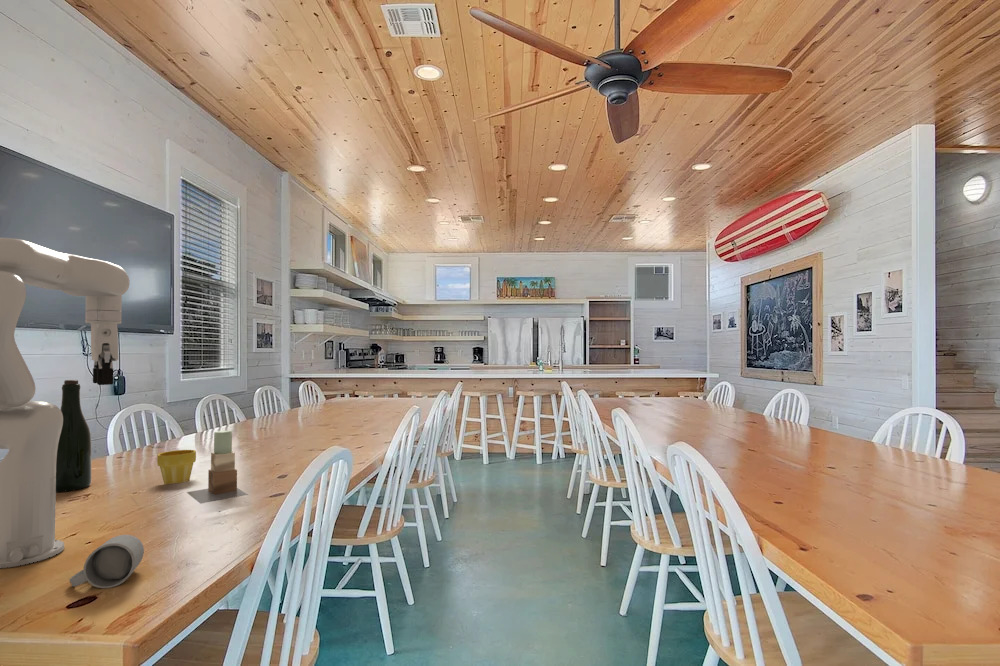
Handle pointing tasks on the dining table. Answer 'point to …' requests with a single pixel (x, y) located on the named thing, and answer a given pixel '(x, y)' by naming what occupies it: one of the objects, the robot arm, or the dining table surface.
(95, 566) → the ceramic mug
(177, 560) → the dining table surface
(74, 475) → the beer bottle
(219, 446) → the pale green rounded piece
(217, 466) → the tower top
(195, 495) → the slate board
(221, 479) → the tower base
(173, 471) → the plant pot
